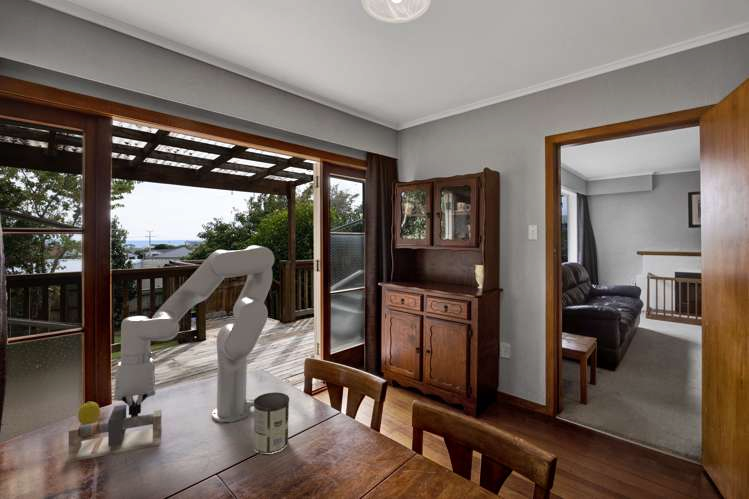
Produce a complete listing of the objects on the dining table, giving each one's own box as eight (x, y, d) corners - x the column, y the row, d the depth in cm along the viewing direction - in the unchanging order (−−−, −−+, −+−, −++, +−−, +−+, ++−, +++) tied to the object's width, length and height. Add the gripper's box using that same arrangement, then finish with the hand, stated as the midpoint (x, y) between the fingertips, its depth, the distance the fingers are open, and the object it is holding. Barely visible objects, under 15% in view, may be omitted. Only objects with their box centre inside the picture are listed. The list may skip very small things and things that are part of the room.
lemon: (87, 431, 115) (87, 406, 114) (73, 429, 116) (73, 404, 115) (104, 422, 120) (104, 398, 120) (90, 420, 121) (90, 396, 121)
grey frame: (126, 428, 113) (126, 404, 113) (121, 444, 105) (121, 418, 104) (114, 430, 112) (114, 406, 111) (108, 446, 104) (108, 420, 103)
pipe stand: (161, 429, 117) (162, 406, 117) (159, 444, 109) (159, 419, 109) (75, 444, 107) (75, 419, 107) (65, 462, 99) (65, 435, 99)
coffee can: (269, 432, 118) (269, 389, 117) (295, 441, 113) (296, 396, 113) (245, 449, 108) (246, 402, 108) (272, 459, 104) (273, 410, 103)
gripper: (164, 351, 119) (163, 406, 119) (108, 356, 112) (107, 415, 113) (163, 358, 112) (161, 417, 113) (103, 364, 105) (102, 427, 106)
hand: (134, 416), depth 113 cm, fingers closed
